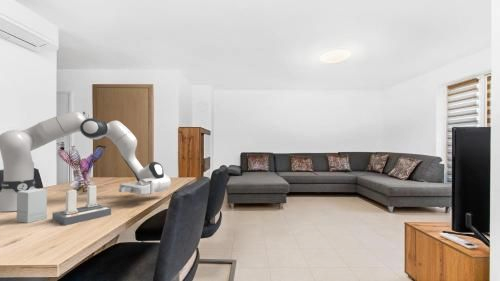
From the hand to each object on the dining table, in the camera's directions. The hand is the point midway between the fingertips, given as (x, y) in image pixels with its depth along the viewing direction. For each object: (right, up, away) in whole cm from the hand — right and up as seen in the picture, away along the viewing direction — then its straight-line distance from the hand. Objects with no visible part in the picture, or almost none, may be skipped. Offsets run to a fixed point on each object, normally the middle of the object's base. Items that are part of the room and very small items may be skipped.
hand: (120, 190), depth 124 cm
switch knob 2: (-7, -5, -11) cm, 14 cm away
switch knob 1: (-9, -5, -22) cm, 24 cm away
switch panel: (-7, -8, -17) cm, 20 cm away
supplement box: (-26, -8, -21) cm, 35 cm away
